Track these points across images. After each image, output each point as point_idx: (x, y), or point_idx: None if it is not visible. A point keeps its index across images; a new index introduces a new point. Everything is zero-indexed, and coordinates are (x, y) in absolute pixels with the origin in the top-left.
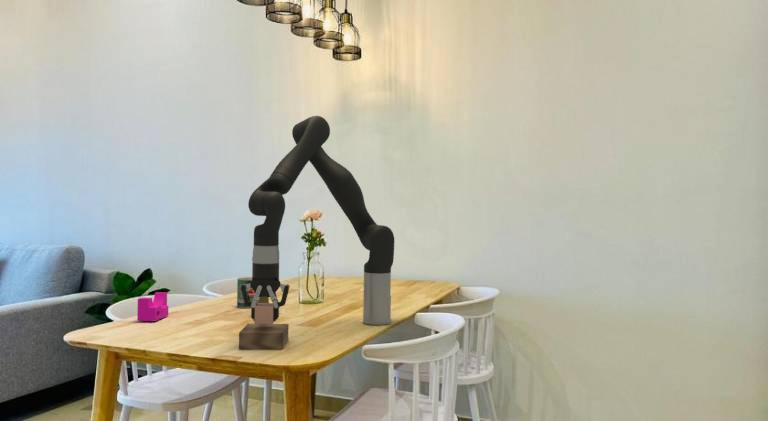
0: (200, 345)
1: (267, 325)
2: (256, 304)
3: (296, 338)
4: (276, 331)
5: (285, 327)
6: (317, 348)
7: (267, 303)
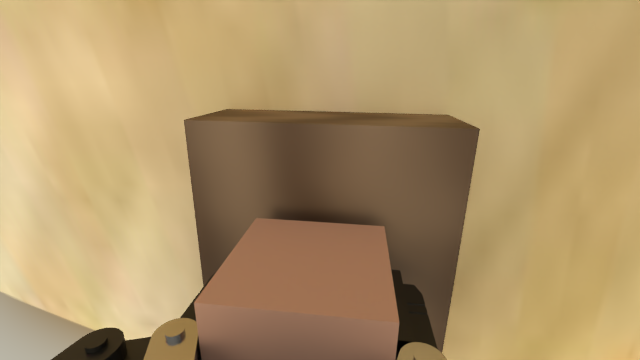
0: (71, 219)
1: (327, 180)
2: (199, 356)
3: (499, 85)
4: None
5: (454, 243)
6: (590, 295)
7: (305, 332)
